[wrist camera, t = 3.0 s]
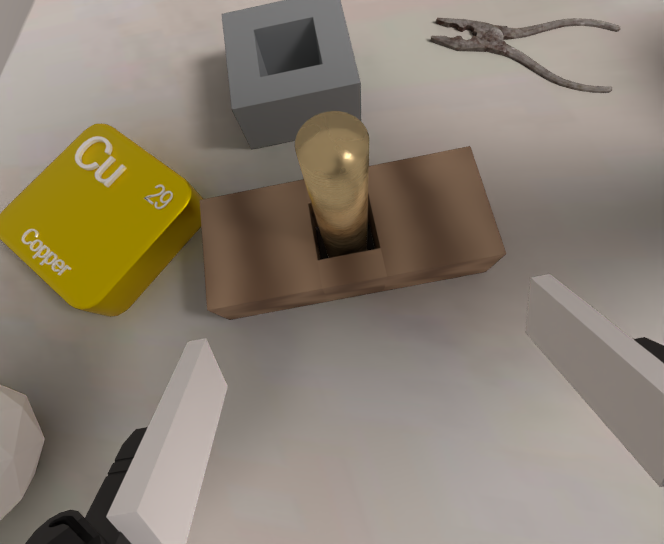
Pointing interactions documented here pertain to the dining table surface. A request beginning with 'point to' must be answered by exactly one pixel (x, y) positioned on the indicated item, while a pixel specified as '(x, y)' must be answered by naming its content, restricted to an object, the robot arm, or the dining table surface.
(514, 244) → the dining table surface
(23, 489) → the geodesic sphere
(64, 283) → the element tile
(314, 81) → the seat block
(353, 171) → the golden rounded rod
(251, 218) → the beam
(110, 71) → the dining table surface
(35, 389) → the dining table surface
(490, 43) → the pliers
